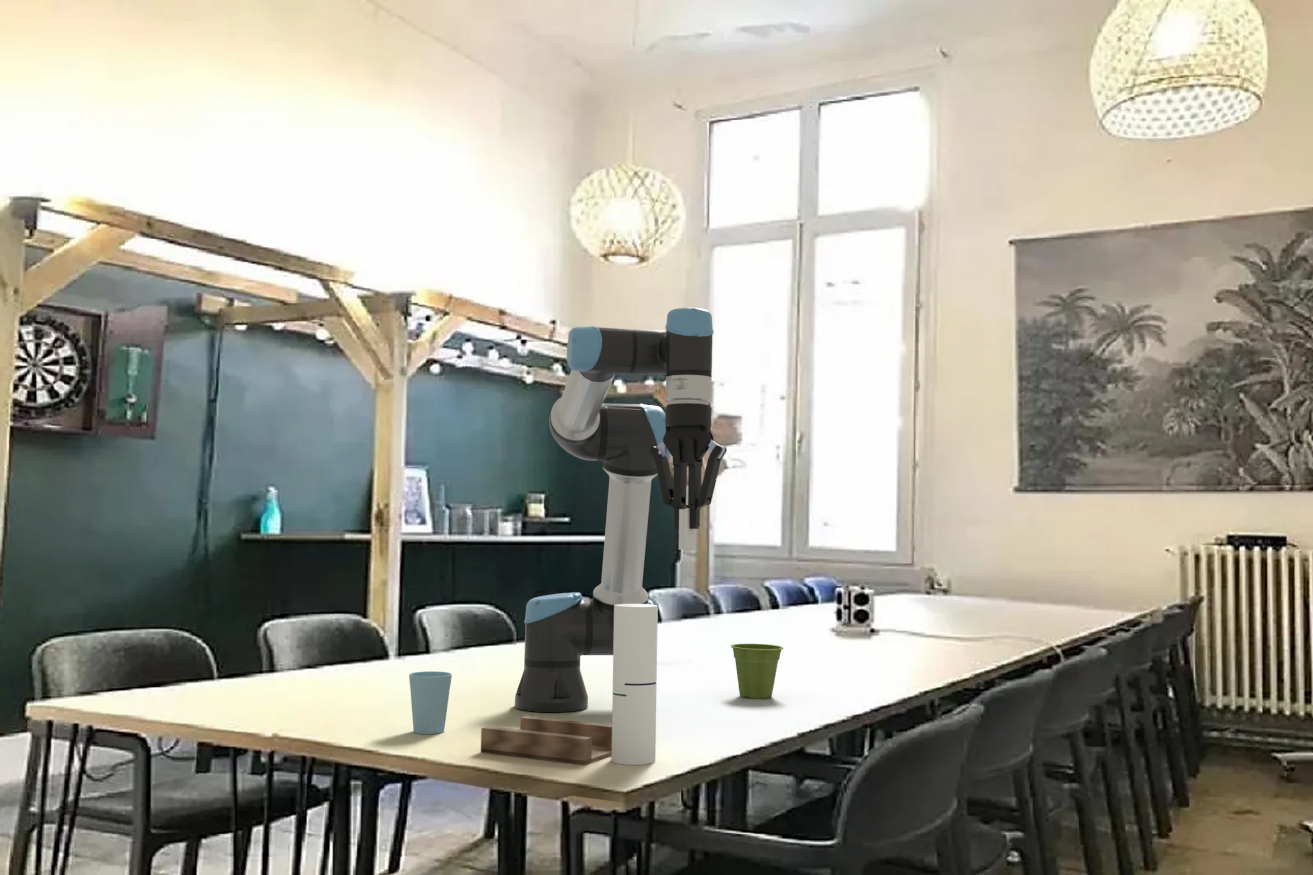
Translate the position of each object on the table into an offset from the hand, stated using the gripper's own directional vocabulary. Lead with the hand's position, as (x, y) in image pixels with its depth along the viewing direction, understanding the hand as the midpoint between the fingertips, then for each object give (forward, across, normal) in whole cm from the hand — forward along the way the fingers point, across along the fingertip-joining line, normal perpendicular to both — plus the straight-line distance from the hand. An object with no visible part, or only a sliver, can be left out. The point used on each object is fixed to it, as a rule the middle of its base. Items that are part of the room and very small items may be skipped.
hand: (686, 549), depth 190 cm
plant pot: (+34, -18, +77) cm, 86 cm away
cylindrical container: (+35, -9, 0) cm, 36 cm away
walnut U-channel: (+34, -24, 0) cm, 42 cm away
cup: (+35, -53, +4) cm, 63 cm away
